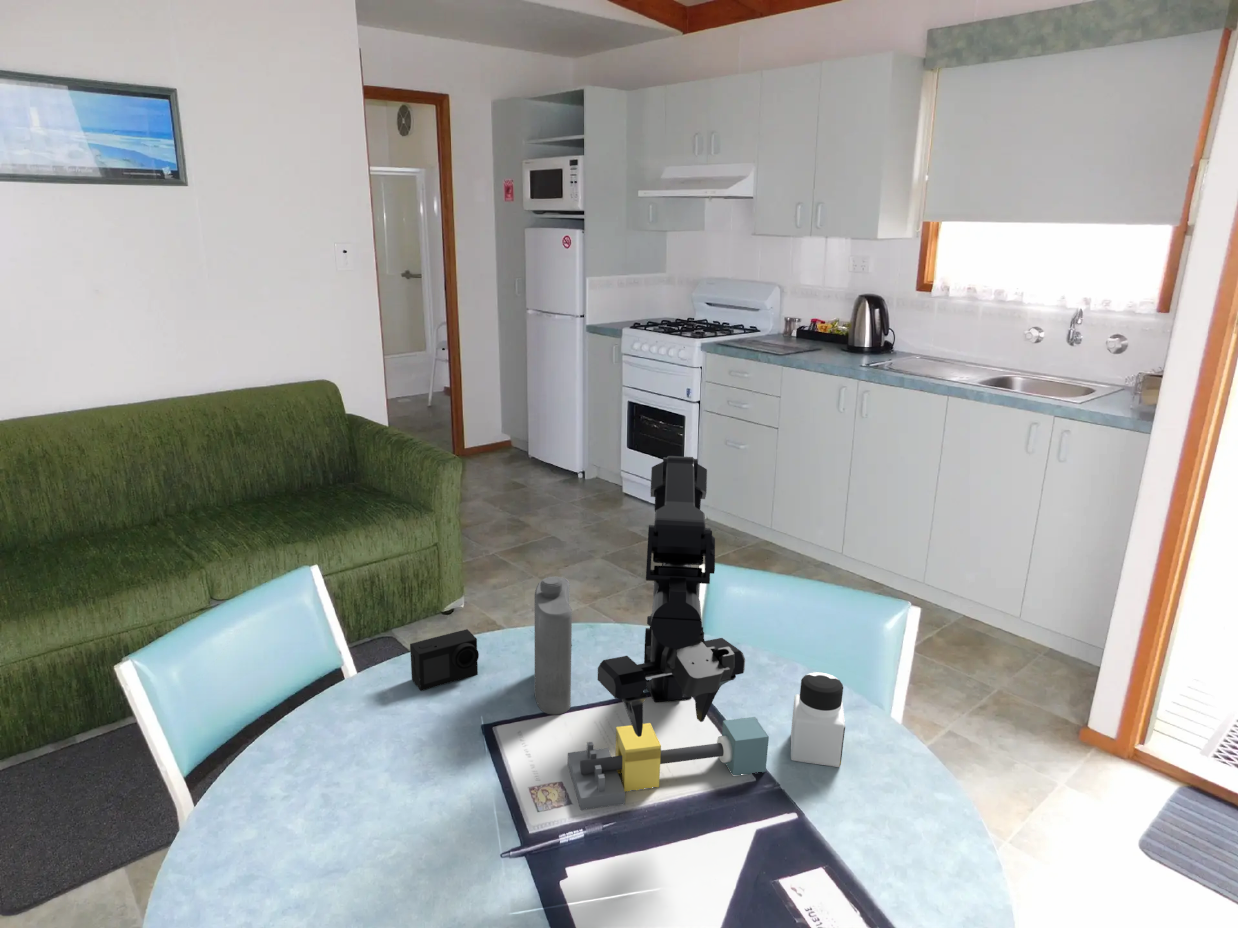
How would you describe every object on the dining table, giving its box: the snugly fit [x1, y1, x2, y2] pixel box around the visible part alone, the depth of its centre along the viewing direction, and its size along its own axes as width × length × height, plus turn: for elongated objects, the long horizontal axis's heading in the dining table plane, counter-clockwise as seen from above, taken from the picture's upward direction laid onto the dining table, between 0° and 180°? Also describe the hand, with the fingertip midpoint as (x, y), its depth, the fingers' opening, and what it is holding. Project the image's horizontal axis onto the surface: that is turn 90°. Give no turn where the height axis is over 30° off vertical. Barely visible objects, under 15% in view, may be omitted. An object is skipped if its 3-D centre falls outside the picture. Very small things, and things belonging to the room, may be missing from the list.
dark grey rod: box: [580, 716, 770, 776], centre depth 116 cm, size 26×5×6 cm, turn 104°
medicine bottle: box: [790, 671, 846, 768], centre depth 122 cm, size 7×7×12 cm
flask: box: [534, 576, 573, 716], centre depth 135 cm, size 15×6×20 cm, turn 5°
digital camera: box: [409, 628, 480, 691], centre depth 139 cm, size 10×5×7 cm, turn 123°
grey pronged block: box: [567, 741, 626, 811], centre depth 114 cm, size 10×6×4 cm, turn 14°
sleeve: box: [614, 722, 662, 793], centre depth 115 cm, size 5×5×7 cm
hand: (669, 727), depth 106 cm, fingers open, 9 cm apart
